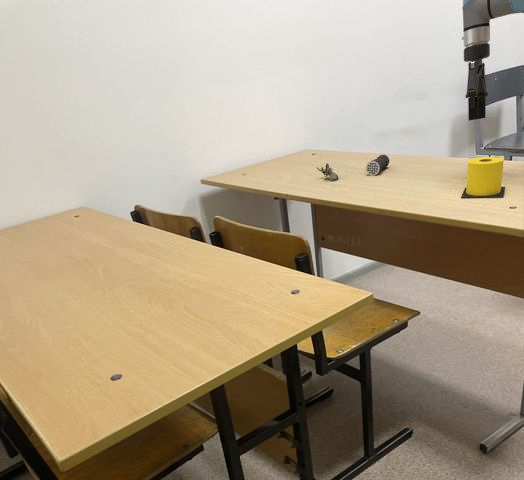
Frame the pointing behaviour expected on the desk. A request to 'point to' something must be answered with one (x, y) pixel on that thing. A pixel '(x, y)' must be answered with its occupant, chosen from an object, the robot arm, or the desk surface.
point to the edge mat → (499, 195)
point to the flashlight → (377, 165)
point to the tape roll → (484, 176)
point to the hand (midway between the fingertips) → (477, 119)
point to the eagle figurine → (329, 172)
